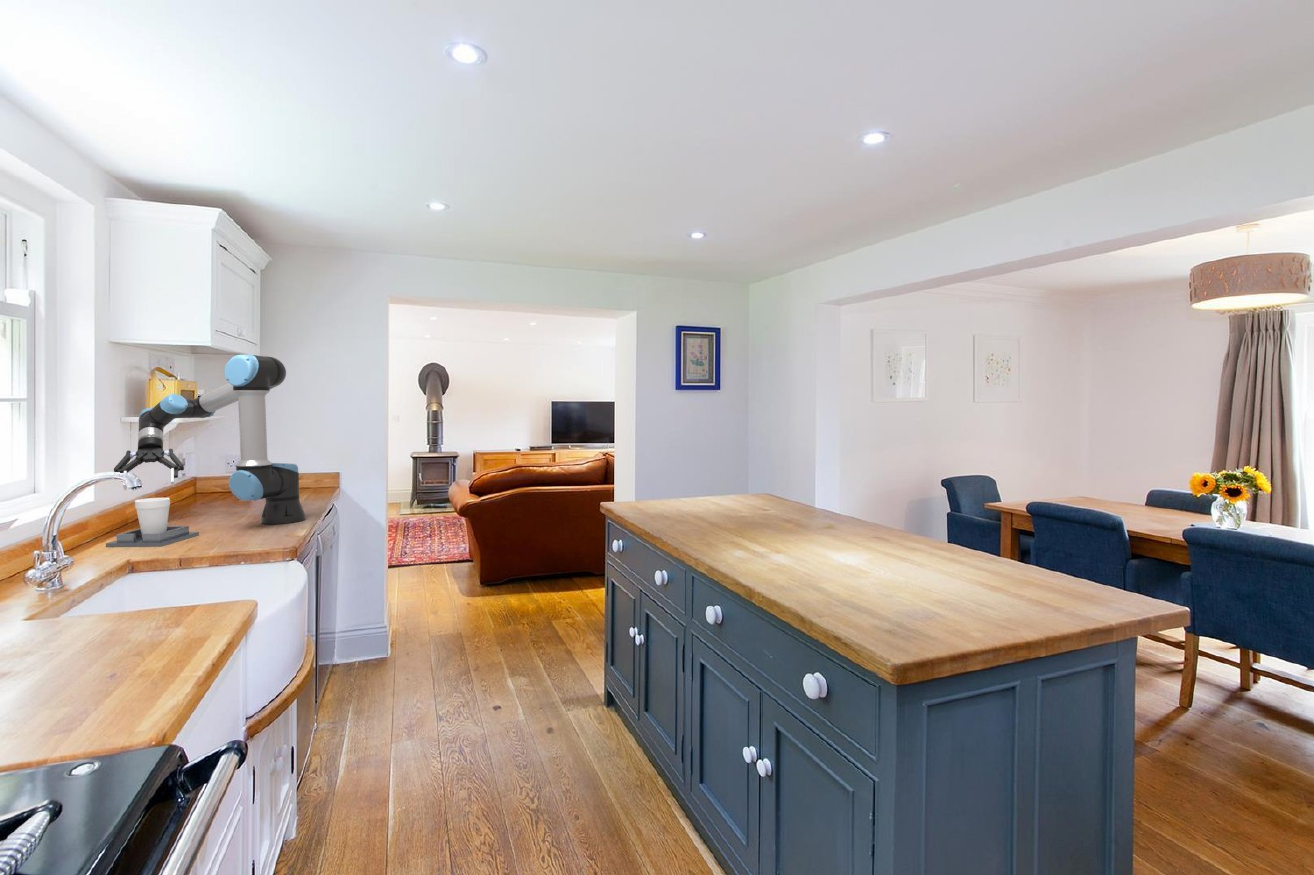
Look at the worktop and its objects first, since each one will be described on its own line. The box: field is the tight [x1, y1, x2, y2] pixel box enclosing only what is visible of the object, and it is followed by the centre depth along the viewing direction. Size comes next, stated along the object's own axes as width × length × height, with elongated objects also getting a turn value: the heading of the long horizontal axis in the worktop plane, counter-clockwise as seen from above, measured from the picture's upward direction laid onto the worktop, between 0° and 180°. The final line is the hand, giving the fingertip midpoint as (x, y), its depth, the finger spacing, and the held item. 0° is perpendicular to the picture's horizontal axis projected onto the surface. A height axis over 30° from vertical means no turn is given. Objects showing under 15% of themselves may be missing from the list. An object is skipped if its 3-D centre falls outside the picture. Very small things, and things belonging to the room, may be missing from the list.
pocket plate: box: [105, 525, 200, 548], centre depth 223 cm, size 18×18×4 cm
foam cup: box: [134, 497, 171, 537], centre depth 223 cm, size 10×9×13 cm
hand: (149, 485), depth 234 cm, fingers open, 13 cm apart
